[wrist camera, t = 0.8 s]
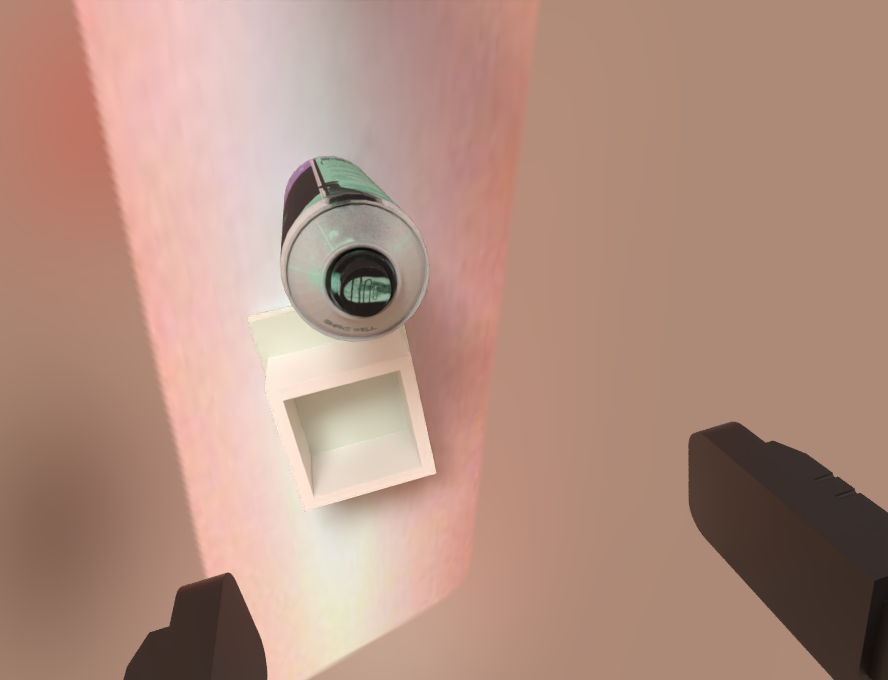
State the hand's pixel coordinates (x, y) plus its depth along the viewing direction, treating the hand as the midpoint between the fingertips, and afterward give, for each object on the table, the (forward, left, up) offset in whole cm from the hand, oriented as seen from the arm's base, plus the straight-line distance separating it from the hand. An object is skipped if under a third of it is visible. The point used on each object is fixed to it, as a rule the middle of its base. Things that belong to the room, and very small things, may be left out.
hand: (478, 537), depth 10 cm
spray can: (-1, 0, -31) cm, 31 cm away
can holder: (+12, -2, -31) cm, 33 cm away
